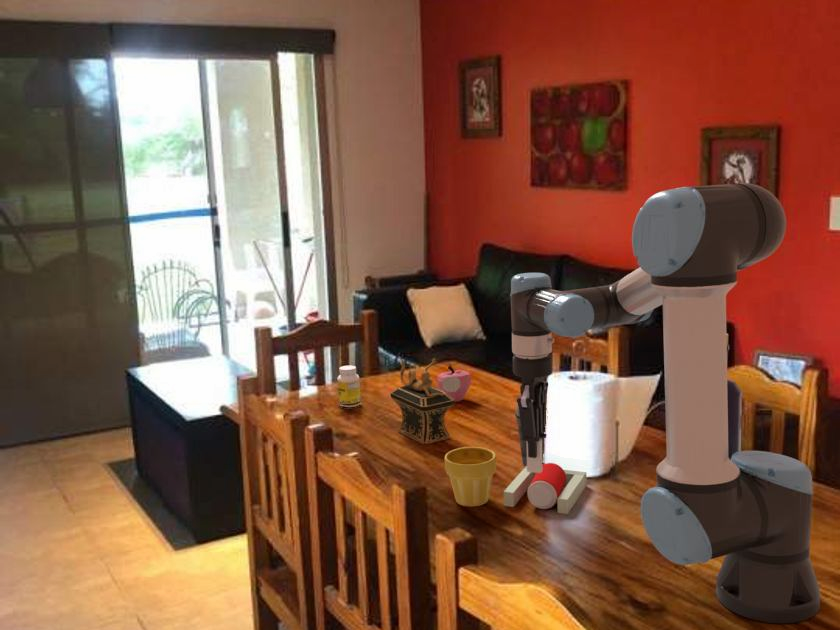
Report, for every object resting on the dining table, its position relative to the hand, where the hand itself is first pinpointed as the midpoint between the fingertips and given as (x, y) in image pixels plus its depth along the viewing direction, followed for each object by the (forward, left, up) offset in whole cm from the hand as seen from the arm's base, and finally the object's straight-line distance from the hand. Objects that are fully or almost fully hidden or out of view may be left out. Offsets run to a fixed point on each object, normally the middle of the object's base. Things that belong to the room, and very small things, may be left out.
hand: (534, 470), depth 176 cm
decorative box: (+36, +41, -8) cm, 55 cm away
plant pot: (0, +13, -8) cm, 16 cm away
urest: (+7, 0, -8) cm, 11 cm away
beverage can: (-1, -2, -5) cm, 5 cm away
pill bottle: (+52, +70, -8) cm, 87 cm away
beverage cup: (+24, +8, -8) cm, 26 cm away
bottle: (+32, -31, -8) cm, 45 cm away
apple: (+64, +43, -8) cm, 77 cm away
